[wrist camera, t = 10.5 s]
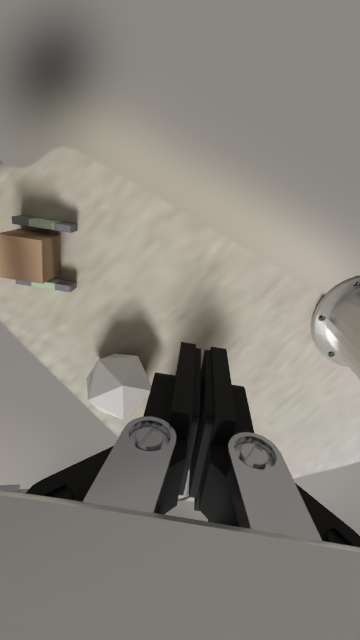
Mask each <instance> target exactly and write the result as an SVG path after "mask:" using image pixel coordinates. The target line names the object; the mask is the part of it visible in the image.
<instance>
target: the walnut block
mask: <svg viewBox="0 0 360 640" xmlns="http://www.w3.org/2000/svg"><path fill="white" fill-rule="evenodd" d="M59 274H60V235H58V234H52V233H46V232H39V231H33V230H27V229H17V230H12V231H7V232H2V233H0V276H1V277H2V278H9V279H15V280H21V281H28V282H34V283H40V284H43V283H45V282H47V281H49V280H50V279H52V278H54V277H55V276H57V275H59Z"/></svg>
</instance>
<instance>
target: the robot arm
mask: <svg viewBox="0 0 360 640" xmlns="http://www.w3.org/2000/svg"><path fill="white" fill-rule="evenodd" d="M355 282H356V284H355V285H354V283H355ZM320 315H321V316H320ZM319 316H320V317H319ZM311 329H312V336H313V340H314V342H315V344H316V346H317V348H318V349H319V350H320V352H321V353H322V354H323V355H324V356H325V357H326V358H327V359H329V360H331V361H332V362H334V363H336V364H339V365H342V366H347V367H350V369H351V370H352V371H353V372H354V374H355V375H356V376H357V377H358V378H359V380H360V276H355V277H353V278H350V279H347V280H345V281H343V282H341V283H340V284H338V285H336V286H335V287H334V288H332V289H331V290H330V291H329V292H328V293H327V294H326V295H325V296H324V297H323V298H322V299H321V301H320V302H319V304H318V306H317V307H316V309H315V312H314V315H313V318H312V324H311ZM189 466H190V473H189V497H194V498H195V506H194V509H195V510H197V511H201V512H202V513H203V514H204V515H205V516H206V517H207V519H208V522H205V521H199V520H193V519H186V518H181V517H175V516H168V515H164V514H165V513H166V512H168V511H169V510H171V509H172V508H174V507H175V506H176V505H177V501H178V496H179V495H182V496H183V495H184V490H185V485H186V481H187V476H188V471H189ZM0 640H360V536H359V535H358V534H357V533H356V532H355V531H354V530H353V529H351V528H350V527H349V526H348V525H346V524H345V523H344V522H343V521H341V520H340V519H339V518H338V517H336V516H335V515H334V514H333V513H332V512H330V511H329V510H328V509H326V508H325V507H324V506H323V505H322V504H320V503H319V502H318V501H317V500H315V499H314V498H313V497H312V496H310V495H309V494H308V493H307V492H306V491H304V490H303V489H302V488H301V487H299V486H298V485H297V484H296V483H295V482H294V480H293V478H292V476H291V474H290V472H289V470H288V467H287V465H286V463H285V461H284V459H283V457H282V455H281V453H280V451H279V450H278V448H277V447H276V446H275V445H274V444H273V443H272V442H271V441H270V440H268V439H266V438H265V437H263V436H261V435H258V434H255V433H254V430H253V425H252V420H251V416H250V411H249V406H248V402H247V397H246V392H245V388H244V387H242V386H236V385H231V378H230V372H229V365H228V358H227V351H226V349H222V348H216V347H211V349H210V350H205V352H204V357H203V362H202V367H201V349H198V348H196V344H191V343H184V342H181V347H180V354H179V360H178V366H177V372H176V376H174V375H167V374H161V373H155V375H154V379H153V383H152V386H151V390H150V394H149V398H148V401H147V405H146V409H145V413H144V417H140V418H136V419H134V420H132V421H131V422H129V423H128V424H127V425H126V426H125V428H124V429H123V431H122V433H121V435H120V436H119V438H118V440H117V442H116V443H115V445H114V446H112V447H110V448H108V449H106V450H104V451H102V452H100V453H98V454H96V455H94V456H91V457H89V458H87V459H85V460H83V461H81V462H79V463H77V464H74V465H72V466H71V467H68V468H66V469H64V470H62V471H60V472H57V473H55V474H53V475H51V476H49V477H47V478H45V479H43V480H41V481H39V482H38V483H36V484H34V485H33V486H32V487H31V488H30V489H20V485H2V486H0Z"/></svg>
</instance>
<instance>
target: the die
mask: <svg viewBox="0 0 360 640" xmlns="http://www.w3.org/2000/svg"><path fill="white" fill-rule="evenodd" d="M87 387H88V400H89V401H90V402H91V403H92V404H93V405H94V406H95V407H97V408H98V409H99V410H100V411H101V412H103V413H106V414H109V415H112V416H115V417H118V418H121V419H124V418H125V417H127V416H128V415H129V414H130V413H131V412H132V411H133V410H134V409H135V408H136V407H137V406H139V404H140V403H141V402H142V401H143V400H144V399H145V398H146V397H147V396H148V395H149V394H150V390H151V385H150V382H149V380H148V377H147V374H146V372H145V370H144V368H143V366H142V364H141V362H140V360H139V358H138V356H134V355H124V354H113V355H110V356H107V357H105V358H102V359H99V360H98V361H97V363H96V364H95V366H94V368H93V369H92V371H91V372H90V374H89V375H88V377H87Z"/></svg>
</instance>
